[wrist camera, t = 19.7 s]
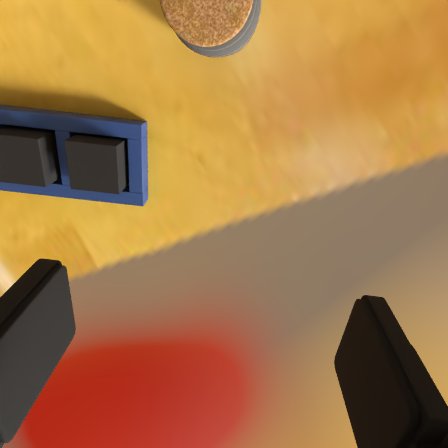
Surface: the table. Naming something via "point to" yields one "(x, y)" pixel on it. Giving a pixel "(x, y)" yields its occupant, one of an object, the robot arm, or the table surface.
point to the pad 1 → (28, 156)
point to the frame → (87, 124)
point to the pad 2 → (97, 163)
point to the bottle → (213, 24)
